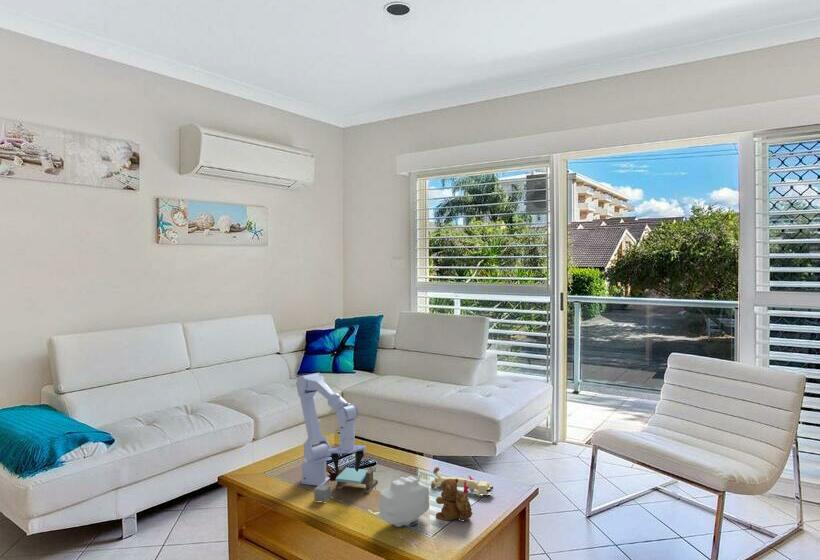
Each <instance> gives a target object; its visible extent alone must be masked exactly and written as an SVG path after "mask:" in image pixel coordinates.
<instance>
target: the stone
mask: <svg viewBox="0 0 820 560" xmlns="http://www.w3.org/2000/svg"><path fill="white" fill-rule="evenodd" d="M313 490H314V491H313V492H314V493H313V494H314V495H313V498H314V499H313V500H315V501H322V502H326V501H327V500H328V499H329V500H330V499H331V485H328V484H324V485H322V484H319V485H318V486H316V487H315V488H314V489H313ZM329 500H328V501H329ZM328 501H327V502H328ZM327 502H326V503H327Z"/></svg>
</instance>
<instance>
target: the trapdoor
mask: <svg viewBox="0 0 820 560" xmlns="http://www.w3.org/2000/svg"><path fill="white" fill-rule="evenodd" d="M368 470H369V469H362V468H358V471H356V470H355V467H345V469H344V470H343V471H342V472H341V473H340V474H339V475H338V476H337V475H336V477H335V482H337V481H340V482H347V483H350V484H356V485H357V484H358V485H360V484H362V485H363V484H364V485H366V472H367V471H368Z"/></svg>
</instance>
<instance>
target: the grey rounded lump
mask: <svg viewBox="0 0 820 560" xmlns="http://www.w3.org/2000/svg"><path fill="white" fill-rule="evenodd" d="M420 480H421V473H419V474H418V476H416V477H414V476H412V475H410V476H409V475H408V476H406V477H403V476H400V477H399V478H398V479H397V480H393V481H392V482H391V483H390V485H389V486H388V487H386V488H385V489H383V490H382V491H381V492H380V493H379V501H378V504H377V506H378V509H379V513H378V514H379V518H381V520H383V521H384V522H385V523H388V524H391V525H394V526H395V527H397V528H401V527H403V526H409V525H410V524H411V523H413V522H414V523H415V522H416V521H417V520H419V518H420V517H421V516H422V515H424V514H425V513H427V512H428V511H429V508H430V496H429V494H430V490H429V487H428V485H426V484H424V483H422V482H421V481H420Z"/></svg>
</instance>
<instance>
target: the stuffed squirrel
mask: <svg viewBox="0 0 820 560" xmlns="http://www.w3.org/2000/svg"><path fill="white" fill-rule="evenodd" d="M457 483H458V479H455V480H454V479H446V480H444V481H443V482H442V483H441V486H440V487H439V489H438V492H440V496H438V497H436V498H435V502H436V504H438V505H442V508H441V511H438V512H437V513H436V514H435V517H436V518H437V519H440V520H442V521H446V522H447V521H448V522H449V521H454V519H455V520H458V519H460V520H465V521H467V520H469V519H470V518H471V517H472V516H473V514H474V513H473V512H472V506H471V503H470V501H469V498H468V496H467V495H466V494H467V493H466V494H465V493H464V492H458V487H457Z"/></svg>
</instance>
